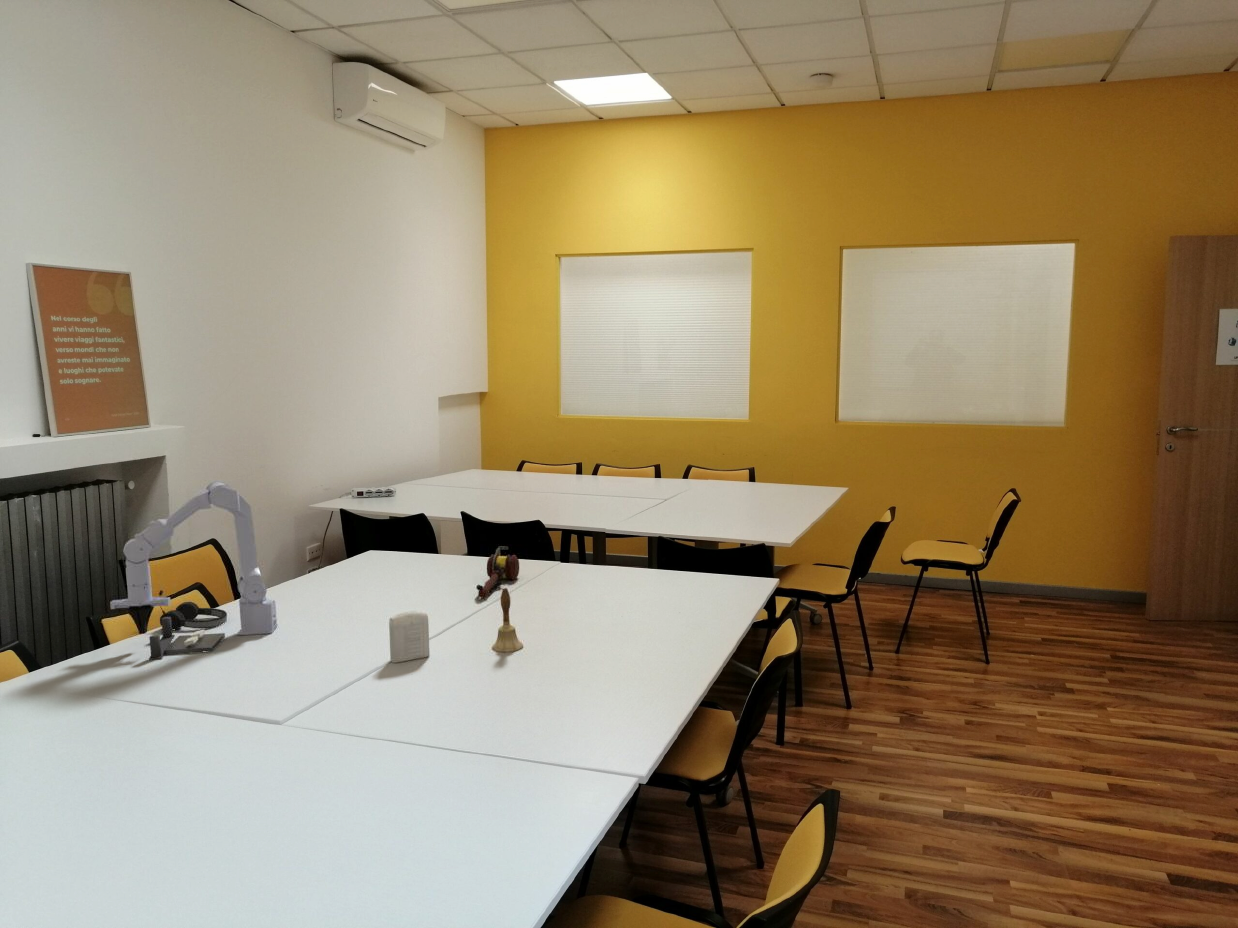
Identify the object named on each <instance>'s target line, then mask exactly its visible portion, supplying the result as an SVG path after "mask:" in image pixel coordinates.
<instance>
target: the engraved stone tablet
mask: <svg viewBox="0 0 1238 928" xmlns="http://www.w3.org/2000/svg"><path fill="white" fill-rule="evenodd" d="M388 623H389V624H388V627H389V653H390V662H391V663H395V664H396V663H401V662H402V663H403V662H407V661H412V660H417V659H422V658H426V657H428V658H429V656H430V629H429V626H430V625H429V615H428V613H427V612H426V611H422V610H408V611H403V612H399V613H398V614H395V615H393V616H391V617H390V618H389V622H388Z"/></svg>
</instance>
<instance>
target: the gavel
mask: <svg viewBox="0 0 1238 928" xmlns="http://www.w3.org/2000/svg"><path fill="white" fill-rule="evenodd" d="M501 550H509V547H508V546H502V545H501V546H498V547H497V548H496V549H495V553H494V554H491V555H490V556H489V557H488V559H487V561H486V562H487V563H486V574H487V576H488V578H489V579H488V580H487V581H486V583H485V584H484V586H483V585H481V584H477V585H476V590H477V591H478V592H477V594H478V597H479V598H480V599H484V598H486V597H487V596H488V594H489V593H491V592H493V591H496V590H497V589H498V588H499V586H500V585H501V584H502V582H503V579H506V580H507V581H509V580H510V579H511V580H512V581H515V580H516V579H517V577H518V576H519V574H520V561H519V559H518V557H517V555H515V554H513V555H510V554H507V555H506V556H505V555H501Z"/></svg>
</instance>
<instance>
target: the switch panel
mask: <svg viewBox="0 0 1238 928" xmlns="http://www.w3.org/2000/svg"><path fill="white" fill-rule="evenodd" d="M191 635H192V634H187V635H186V634H185V635H178V636H177V638H174V639H173V640H172V642H171V643H170V645H169V646H168V647H167V648H166V649H165V650H164V656H166V655H179V654H178V653H184V654H191V653H190V652H200V653H204V652H203V651H212V650H213V649H214V648H215V647H216V646H217V645H220V643H221V642H222V641H223V640H224V639H225V638H226V633H225V632H220V633H204V634H203V635H202V636H201V637H198V640H197V641H196V642H195V643H194V644H190V645H187V646H185V644H184V642H185V641H186V640H187V639H188V638H191ZM224 637H225V638H224ZM223 638H224V639H223ZM222 639H223V640H222ZM221 640H222V641H221ZM217 647H218V646H217ZM217 647H216V648H217ZM216 648H215V649H216ZM215 649H214V650H215ZM214 650H213V651H214ZM213 651H212V652H213Z"/></svg>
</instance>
